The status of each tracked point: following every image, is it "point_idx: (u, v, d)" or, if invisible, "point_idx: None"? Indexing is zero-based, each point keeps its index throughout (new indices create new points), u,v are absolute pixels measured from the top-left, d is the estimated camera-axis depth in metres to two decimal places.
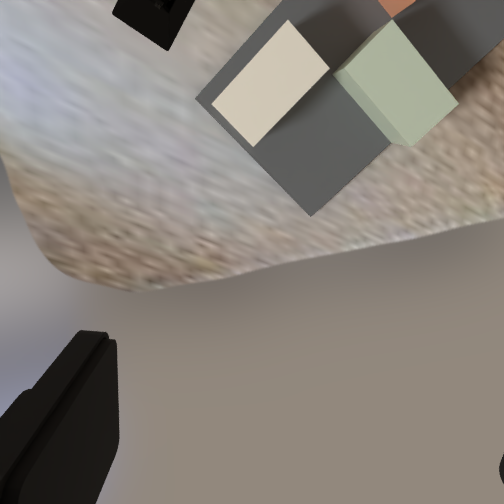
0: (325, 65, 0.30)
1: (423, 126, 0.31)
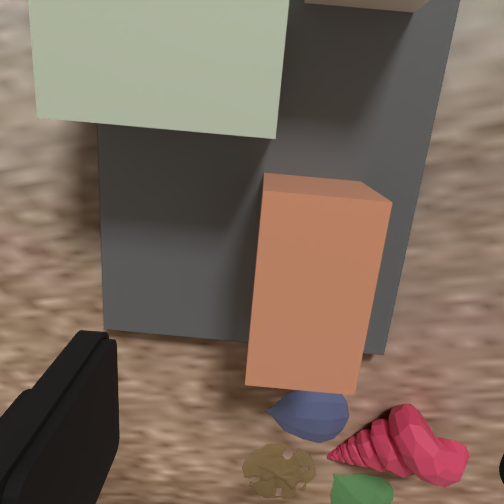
0: None
1: (47, 22, 0.13)
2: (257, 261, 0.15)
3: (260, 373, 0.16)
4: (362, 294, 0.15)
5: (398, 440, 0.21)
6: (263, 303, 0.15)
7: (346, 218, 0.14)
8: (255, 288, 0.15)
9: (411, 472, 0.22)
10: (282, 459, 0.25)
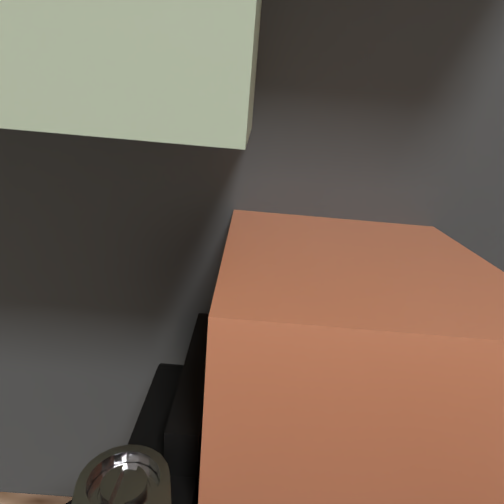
0: None
1: None
2: (201, 500, 0.05)
3: None
4: None
5: None
6: None
7: (473, 395, 0.05)
8: None
9: None
10: None
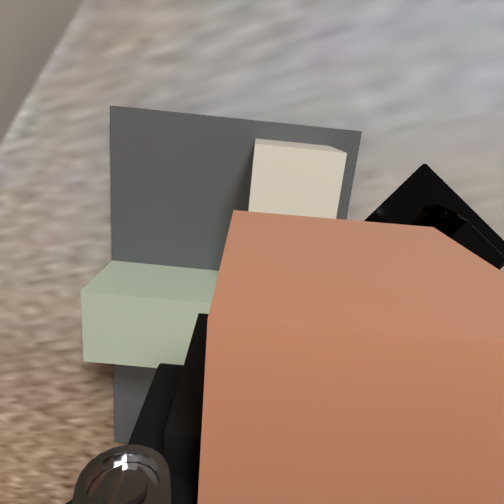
0: None
1: (91, 318, 0.23)
2: (200, 502, 0.05)
3: None
4: None
5: None
6: None
7: (473, 397, 0.05)
8: None
9: None
10: None
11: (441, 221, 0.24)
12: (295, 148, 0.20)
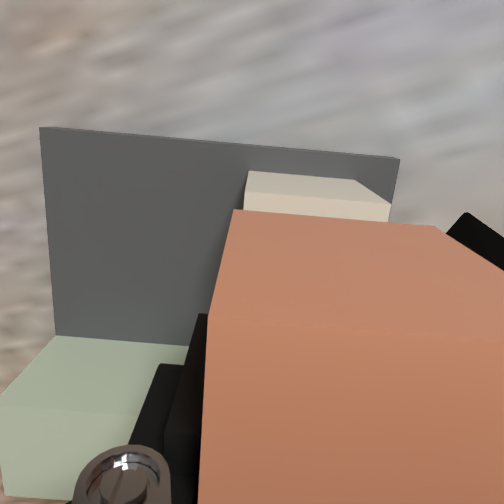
0: None
1: (11, 440, 0.16)
2: (200, 501, 0.05)
3: None
4: None
5: None
6: None
7: (474, 395, 0.05)
8: None
9: None
10: None
11: None
12: (309, 197, 0.12)
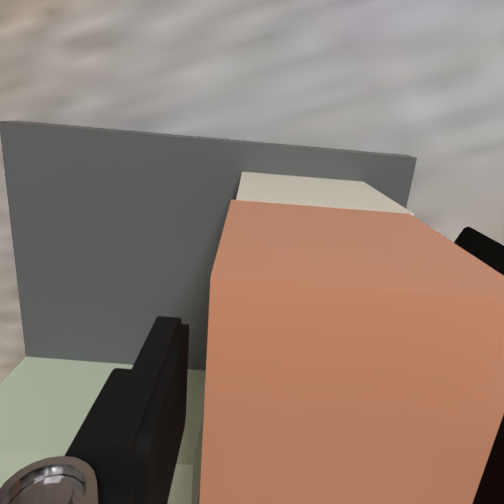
0: None
1: None
2: (205, 433, 0.06)
3: None
4: (448, 494, 0.07)
5: None
6: None
7: (424, 340, 0.06)
8: (203, 485, 0.07)
9: None
10: None
11: None
12: None
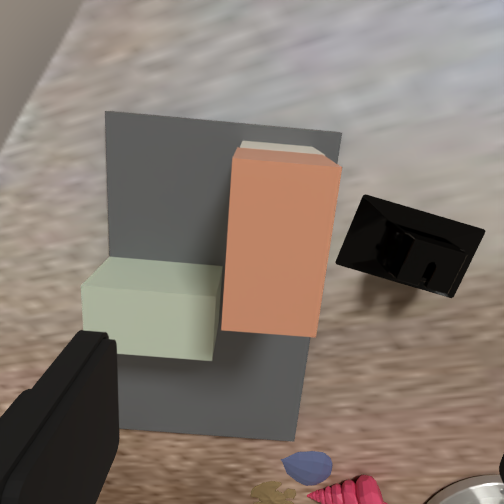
0: None
1: (91, 310, 0.24)
2: (229, 220, 0.17)
3: (234, 319, 0.19)
4: (319, 248, 0.18)
5: (362, 500, 0.34)
6: (235, 257, 0.18)
7: (304, 182, 0.17)
8: (228, 244, 0.18)
9: None
10: None
11: (396, 242, 0.27)
12: None
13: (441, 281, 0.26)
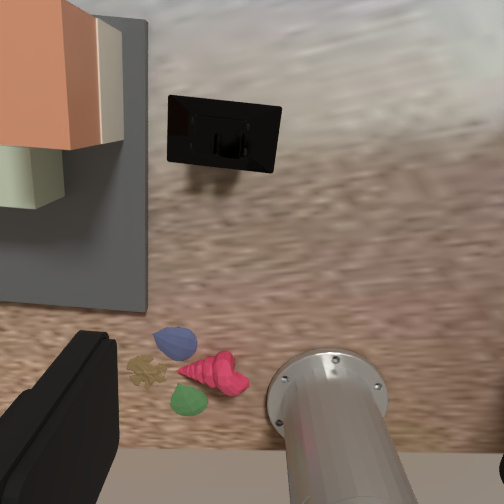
0: None
1: None
2: None
3: (3, 133, 0.24)
4: (57, 68, 0.23)
5: (214, 365, 0.39)
6: None
7: (34, 10, 0.22)
8: None
9: (216, 385, 0.39)
10: None
11: None
12: None
13: (230, 149, 0.31)
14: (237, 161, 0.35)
